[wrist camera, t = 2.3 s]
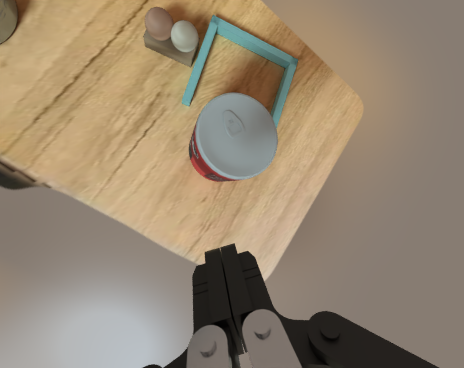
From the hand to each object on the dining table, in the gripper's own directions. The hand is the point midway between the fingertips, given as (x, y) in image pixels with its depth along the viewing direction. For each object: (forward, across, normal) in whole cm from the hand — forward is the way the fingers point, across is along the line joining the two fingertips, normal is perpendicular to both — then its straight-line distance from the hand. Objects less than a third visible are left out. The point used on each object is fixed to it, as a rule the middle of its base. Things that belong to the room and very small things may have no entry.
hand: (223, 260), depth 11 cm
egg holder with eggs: (+27, 0, -12) cm, 29 cm away
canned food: (+22, -2, +2) cm, 22 cm away
